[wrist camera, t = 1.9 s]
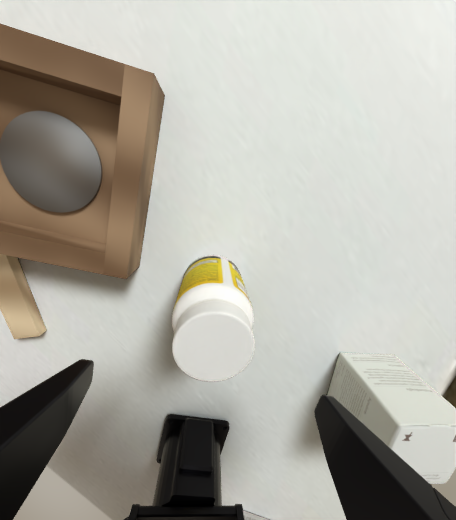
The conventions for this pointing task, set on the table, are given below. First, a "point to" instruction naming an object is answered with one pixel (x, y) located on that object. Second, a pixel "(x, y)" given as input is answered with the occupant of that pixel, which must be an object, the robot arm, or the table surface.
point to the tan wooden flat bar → (18, 300)
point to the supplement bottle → (212, 321)
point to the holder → (74, 155)
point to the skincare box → (399, 411)
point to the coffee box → (252, 516)
